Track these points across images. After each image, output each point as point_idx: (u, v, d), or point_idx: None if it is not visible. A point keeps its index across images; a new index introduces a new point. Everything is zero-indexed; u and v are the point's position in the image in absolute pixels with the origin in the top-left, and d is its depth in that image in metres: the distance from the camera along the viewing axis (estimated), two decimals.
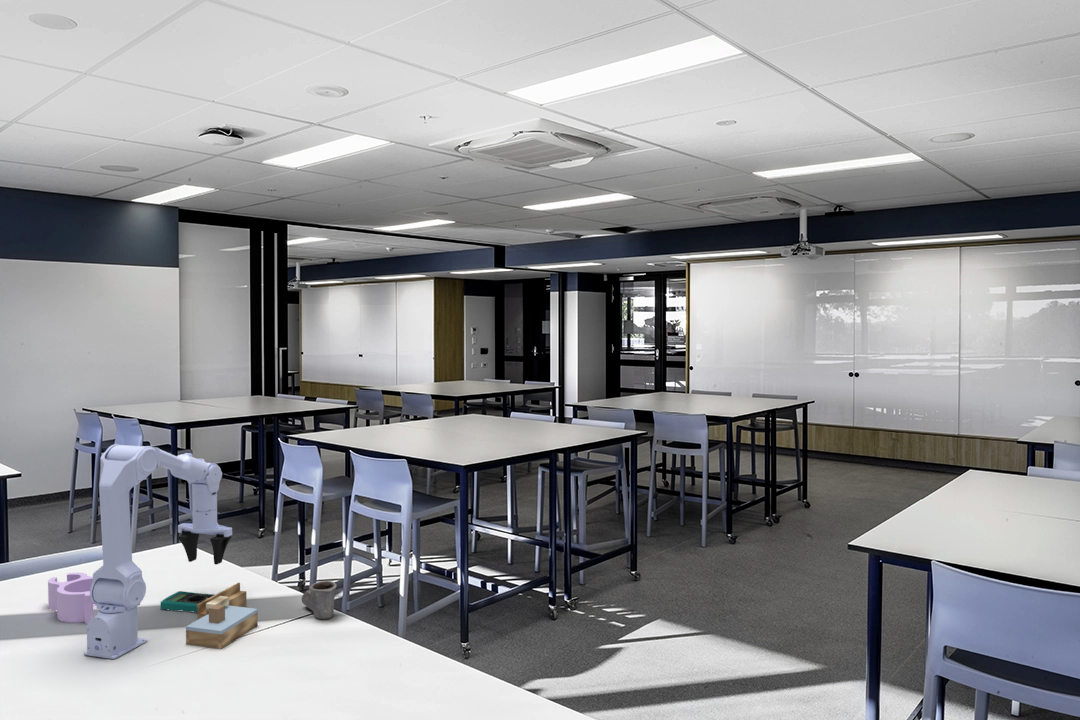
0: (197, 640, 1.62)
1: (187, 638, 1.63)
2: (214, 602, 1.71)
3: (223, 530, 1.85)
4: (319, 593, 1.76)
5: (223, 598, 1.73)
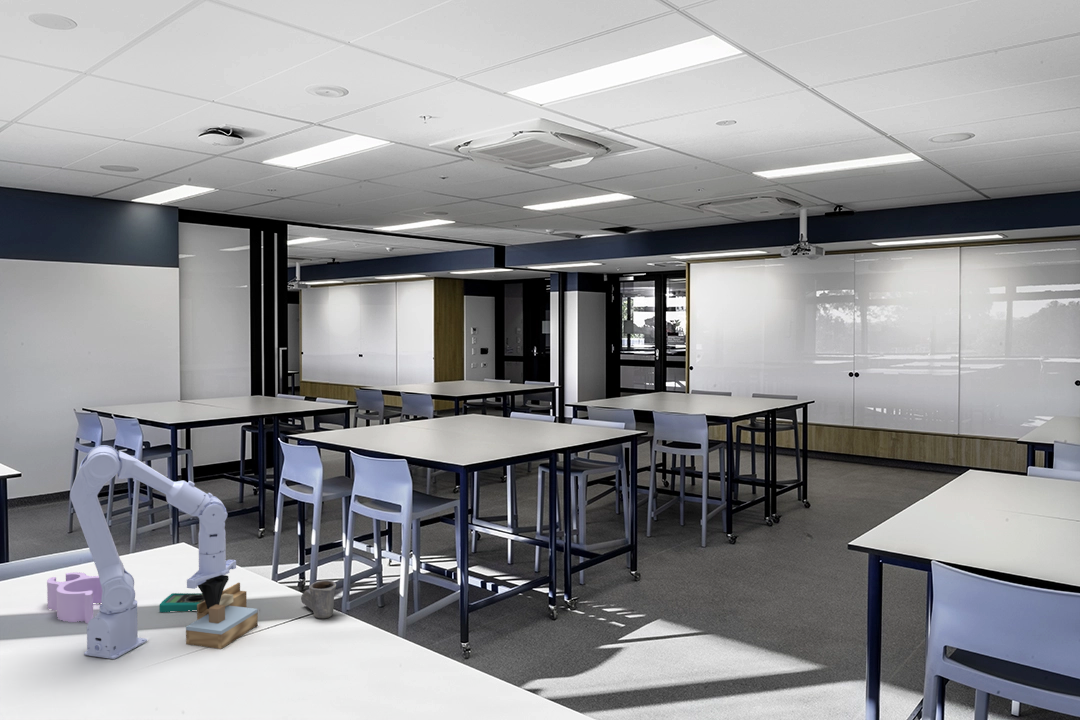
0: (197, 640, 1.62)
1: (187, 638, 1.63)
2: None
3: None
4: (319, 592, 1.76)
5: (227, 596, 1.75)
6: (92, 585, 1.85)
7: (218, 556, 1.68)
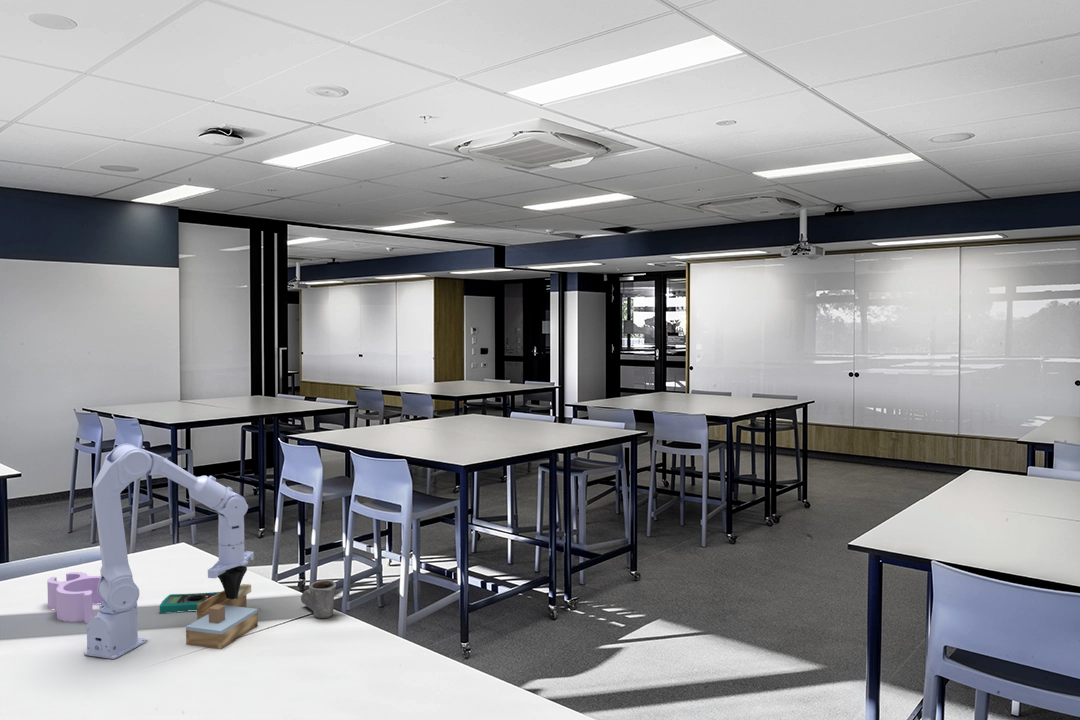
0: (197, 640, 1.62)
1: (187, 638, 1.63)
2: None
3: None
4: (319, 592, 1.76)
5: (246, 586, 1.82)
6: (92, 585, 1.85)
7: (237, 547, 1.75)
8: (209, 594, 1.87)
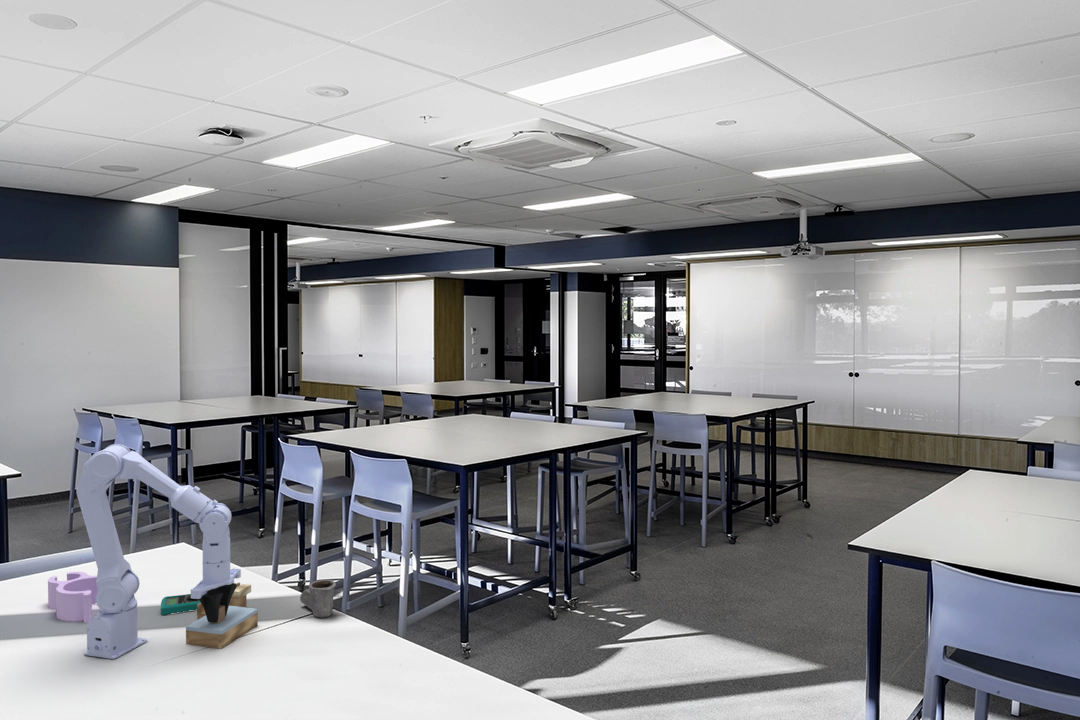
0: (197, 640, 1.62)
1: (187, 638, 1.63)
2: (237, 589, 1.79)
3: None
4: (318, 592, 1.77)
5: (246, 586, 1.82)
6: (92, 585, 1.85)
7: (223, 565, 1.64)
8: None
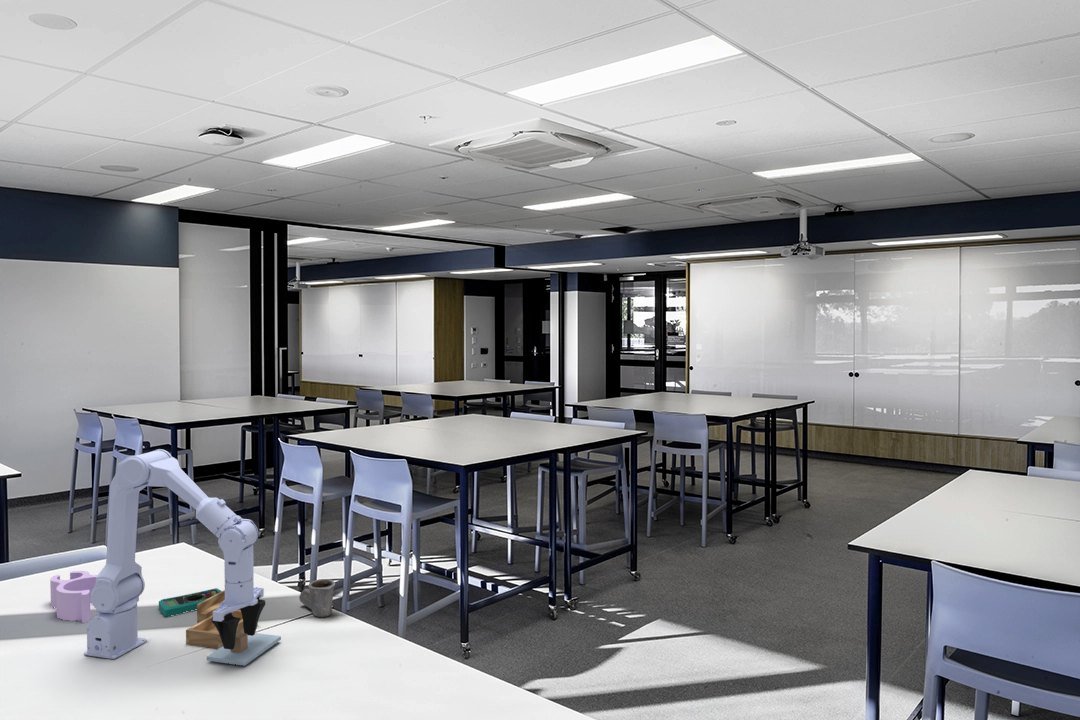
0: (197, 640, 1.62)
1: (187, 638, 1.63)
2: None
3: None
4: (318, 591, 1.77)
5: None
6: (94, 584, 1.86)
7: (246, 585, 1.55)
8: (203, 592, 1.88)
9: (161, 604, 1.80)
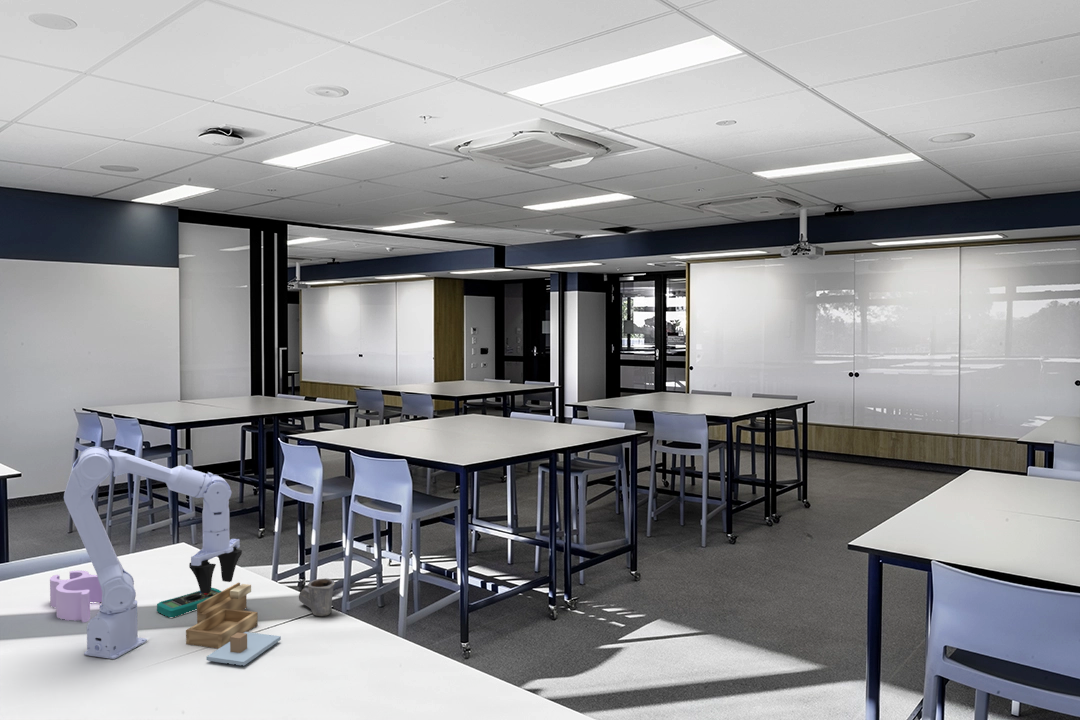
0: (197, 640, 1.62)
1: (187, 638, 1.63)
2: (237, 589, 1.79)
3: None
4: (318, 590, 1.77)
5: (246, 586, 1.82)
6: (93, 584, 1.86)
7: (222, 534, 1.69)
8: (199, 592, 1.88)
9: (162, 606, 1.79)
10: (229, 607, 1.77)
